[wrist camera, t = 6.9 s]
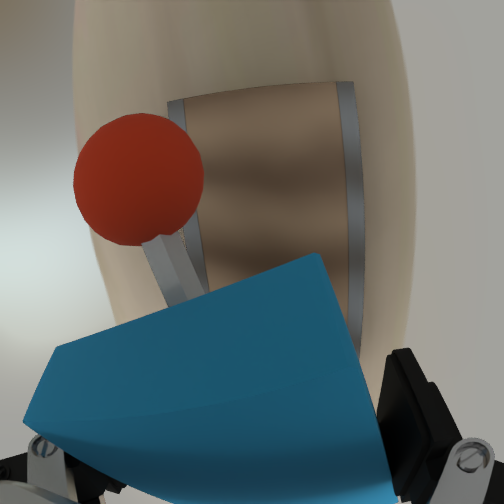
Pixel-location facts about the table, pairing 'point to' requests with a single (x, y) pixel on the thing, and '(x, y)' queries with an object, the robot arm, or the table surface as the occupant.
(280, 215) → the ribbed board
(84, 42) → the table surface
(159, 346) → the lever
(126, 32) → the table surface
